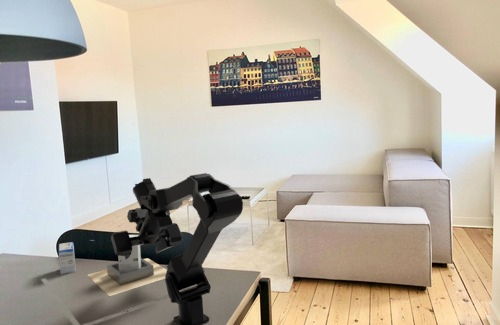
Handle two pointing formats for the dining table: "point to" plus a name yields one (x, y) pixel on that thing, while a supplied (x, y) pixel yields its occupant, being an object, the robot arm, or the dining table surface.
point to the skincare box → (130, 260)
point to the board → (114, 288)
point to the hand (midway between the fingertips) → (141, 254)
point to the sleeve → (130, 273)
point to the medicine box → (67, 258)
